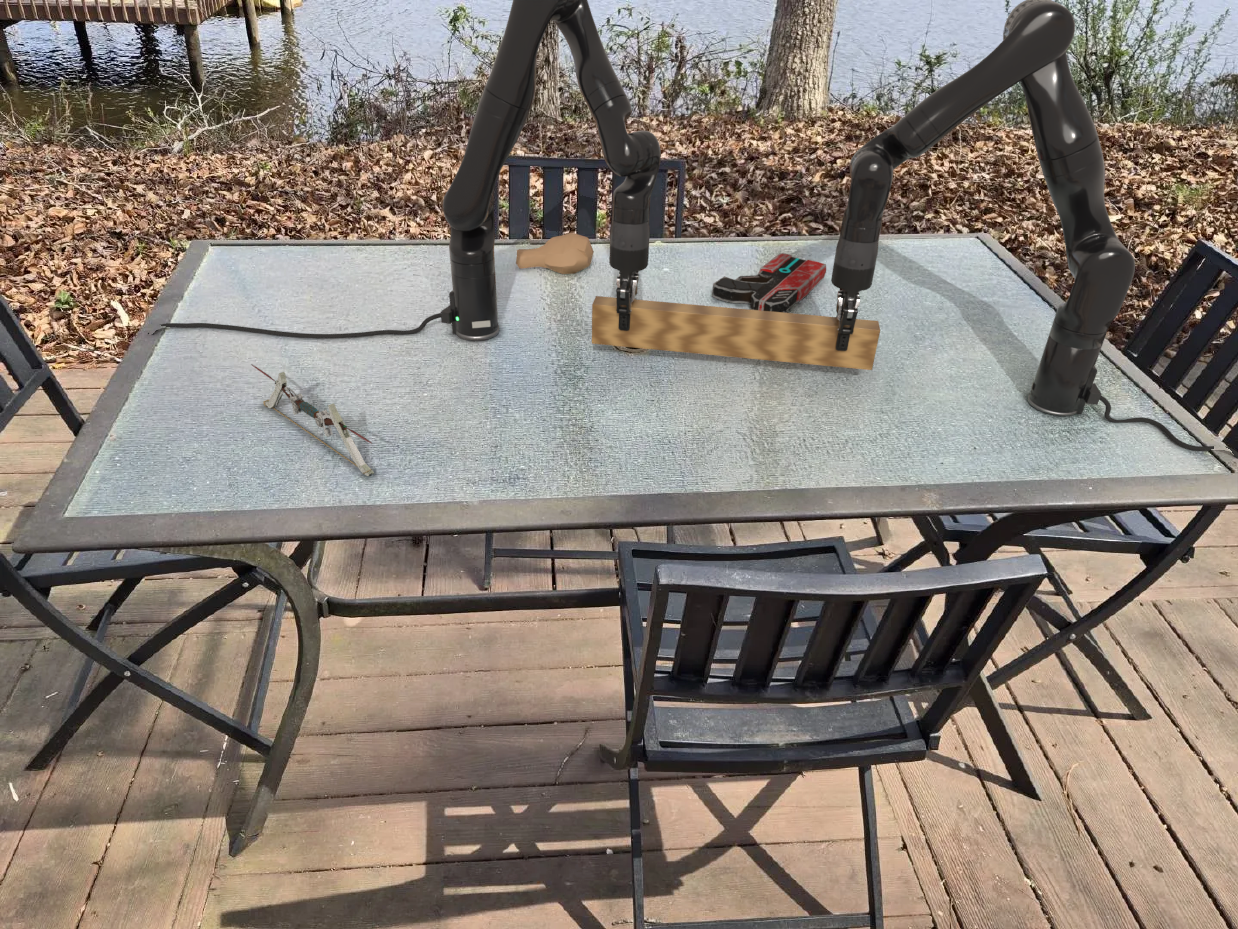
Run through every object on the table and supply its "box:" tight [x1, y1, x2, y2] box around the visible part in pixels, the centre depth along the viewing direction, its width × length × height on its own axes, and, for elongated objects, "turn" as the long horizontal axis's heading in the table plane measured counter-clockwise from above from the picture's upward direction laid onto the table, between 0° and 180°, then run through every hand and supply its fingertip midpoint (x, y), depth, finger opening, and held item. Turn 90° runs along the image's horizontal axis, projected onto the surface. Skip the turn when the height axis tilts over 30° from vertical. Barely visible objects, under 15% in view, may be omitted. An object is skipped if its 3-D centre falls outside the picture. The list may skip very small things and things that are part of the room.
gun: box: [711, 252, 827, 313], centre depth 215 cm, size 4×31×19 cm
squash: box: [515, 232, 595, 275], centre depth 223 cm, size 11×20×9 cm, turn 90°
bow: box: [250, 363, 375, 477], centre depth 152 cm, size 39×2×10 cm, turn 47°
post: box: [591, 295, 881, 371], centre depth 174 cm, size 56×4×9 cm, turn 81°
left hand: (626, 324), depth 177 cm, fingers closed on post, 4 cm apart
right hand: (840, 343), depth 172 cm, fingers closed on post, 4 cm apart
